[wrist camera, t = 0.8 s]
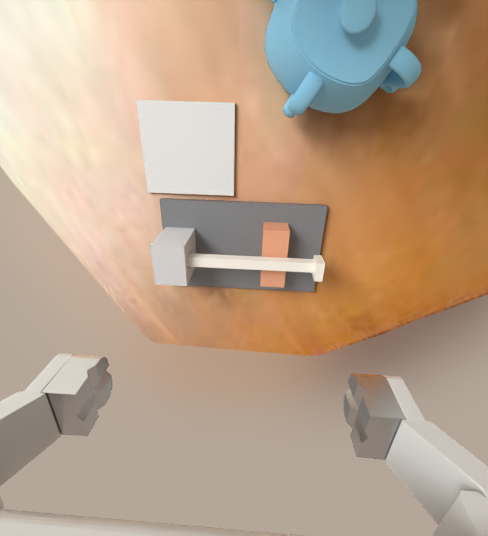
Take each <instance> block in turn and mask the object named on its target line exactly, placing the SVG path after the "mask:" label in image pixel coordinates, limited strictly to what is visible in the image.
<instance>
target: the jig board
mask: <svg viewBox="0 0 488 536" xmlns="http://www.w3.org/2000/svg"><path fill="white" fill-rule="evenodd" d="M160 207H161V216H162V225H163V231H162V232H161V233H160V234H159V235H158V236H157V238H156V239H155V240H154V241H153V242H152V243H151V245H150V249H151V256H152V264H153V272H154V279H155V285H173V286H187V285H188V286H208V287H227V288H246V289H266V290H285V291H305V292H314V288H315V282H316V281H314V279H313V276H312V273H310V272H290V271H286V274H285V284H284V288H281V287H261V286H260V273H261V270H249V269H229V268H208V267H188V266H187V255H188V254H189V253H194V254H215V255H236V256H258V257H261V256H262V240H263V223H264V222H277V223H288V225H289V230H290V236H289V246H288V255H287V258H300V259H313V257H314V255H320V251H321V245H322V238H323V232H324V226H325V220H326V214H327V207H328V206H327V205H319V204H294V203H270V202H245V201H221V200H196V199H171V198H161V199H160Z"/></svg>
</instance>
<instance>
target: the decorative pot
mask: <svg viewBox="0 0 488 536" xmlns="http://www.w3.org/2000/svg"><path fill="white" fill-rule="evenodd" d="M271 1H272V2H273V3H275V6H274V8H273V11H272V14H271V17H270V20H269V23H268V26H267V30H266V36H265V53H266V59H267V61H268V64H269V67H270V68H271V70H272V72H273V74H274V76H275V77H276V79H277V80H278V82H279V83H280V84H281V85H282V87H283V88H284V89H285V90H286V91H287V92H288V93H289V94H290V95H291V96H290V97H289V99H288V100H287V102H286V104H285V106H284V108H283V112H284V114H285V115H286V116H287V117H289V118H292V117H293V116H294V115H302V114H303V113H304V112H305V110H306V109H307V108H308V107H310V108H312V109H315V110H318V111H322V112H327V113H344V112H347V111H351V110H353V109H355V108H357V107H358V106H360V105H361V104H362V103H364V102H365V101H366V100H367V99H368V98H369V97H370V96H371V95H372V94H373V93H374V92H375V91H376V90H377V89H378V87H380V88H381V89H383V90H384V91H386V92H388V93H393V92H395V91H397V90H398V89H399V88H408V87H410V86H411V85H412V84H414V83H415V81H416V80H417V79H418V77H419V76H420V74H421V70H422V67H421V63H420V62H419V60H418V59H417V57H416V56H415V55H414V54H413V53H412V52H411V51H410V50H409V49H407V48H406V45H407V43H408V41H409V39H410V37H411V35H412V33H413V30H414V27H415V24H416V19H417V0H271Z"/></svg>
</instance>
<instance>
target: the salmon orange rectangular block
mask: <svg viewBox="0 0 488 536" xmlns="http://www.w3.org/2000/svg"><path fill="white" fill-rule="evenodd" d="M289 236H290V230H289V225H288V223H277V222H264V223H263V240H262V256H261V257H279V258H287V255H288V246H289ZM285 274H286V271H269V270H261V273H260V286H261V287H281V288H284V284H285Z"/></svg>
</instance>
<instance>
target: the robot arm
mask: <svg viewBox="0 0 488 536" xmlns="http://www.w3.org/2000/svg"><path fill="white" fill-rule="evenodd" d="M108 366H109V364H108V360H107V358H105V357H100V356H90V355H79V354H65V353H60V354H59V355H56V356H55V357H54V358H53V360H52V361H51V362H50V363H49V364H48V365H47V366H46V367H45V368H44V370H43V371H42V372H41V373H40V374H39V375H38V376H37V377H36V378H35V380H34V381H33V382H32V383H31V384H30V385H29V386H28V388H27V389H26V390H25V391H24V392H17V393H15V394H13V395H11V396H10V397H8V398H6V399H4V400H2V401H0V486H1V485H2V484H4V483H5V482H6V481H7V480H8V479H10V478H11V477H12V476H13V475H15V474H16V473H17V472H18V471H19V470H21V469H22V468H23V467H24V466H25V465H26V464H28V463H29V462H30V461H31V460H33V459H34V458H35V457H36V456H37V455H39V454H40V453H41V452H42V451H44V450H45V449H46V448H47V447H48V446H50V445H51V444H52V443H53V442H54V441H56V440H57V439H58V438H59V437H60V436H61V435H82V436H88V435H89V433H90V431H91V429H92V428H93V426H94V424H95V422H96V420H97V419H98V411H97V410H98V409H100V408H101V407H102V406H104V405H105V404H106V402H107V401H108V399H109V397H110V393H111V390H112V377H111V375H110V374H109V373H108V372H107V371H106V370H107V368H108ZM348 383H349V386H350V389H349V390H348V391H346V392H345V396H344V412H345V413H344V414H345V417H346V421H347V423H348V424H349V425H350V426H351V427H352V428H353V429H352V432H351V439H352V443H353V446H354V449H355V453H356V456H357V457H364V458H373V459H383V460H385V462H386V463H387V464H388V466H389V467H390V468H391V469H392V470H393V471H394V473H395V474H396V475H397V476H398V478H399V479H400V480H401V481H402V482H403V484H404V485H405V486H406V487H407V488H408V490H409V491H410V492H411V493H412V494H413V496H414V497H415V498H416V499H417V500H418V501H419V503H420V504H421V505H422V506H423V507H424V509H425V510H426V511H427V512H428V513H429V515H430V516H431V517H432V518H433V520H434V521H435V522H436V523H437V524H438V527H437V529H436V531H435V532H434V533H433V535H432V536H488V467H487V466H486V465H485V464H484V463H482V462H481V461H480V460H479V459H477V458H476V457H475V456H474V455H472V454H471V453H470V452H469V451H467V450H466V449H465V448H463V447H462V446H461V445H460V444H458V443H457V442H456V441H454V440H453V439H452V438H451V437H450V436H448V435H447V434H446V433H444V432H443V431H442V430H441V429H439V428H438V427H437V426H436V425H434V424H433V423H432V422H428V421H425V419H424V417H423V415H422V413H421V412H420V410H419V408H418V406H417V405H416V403H415V401H414V399H413V397H412V396H411V394H410V392H409V390H408V389H407V387H406V385H405V383H404V381H403V380H402V378H400V377H398V376H384V375H383V376H381V375H367V374H351V375H350V377H349V380H348ZM60 434H61V435H60ZM3 508H4V507H3V501H2V500H1V498H0V536H303V535H291V534H280V533H268V532H257V531H246V530H235V529H223V528H212V527H200V526H188V525H177V524H166V523H153V522H143V521H131V520H119V519H108V518H97V517H85V516H73V515H62V514H51V513H39V512H27V511H16V510H5V509H3Z"/></svg>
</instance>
